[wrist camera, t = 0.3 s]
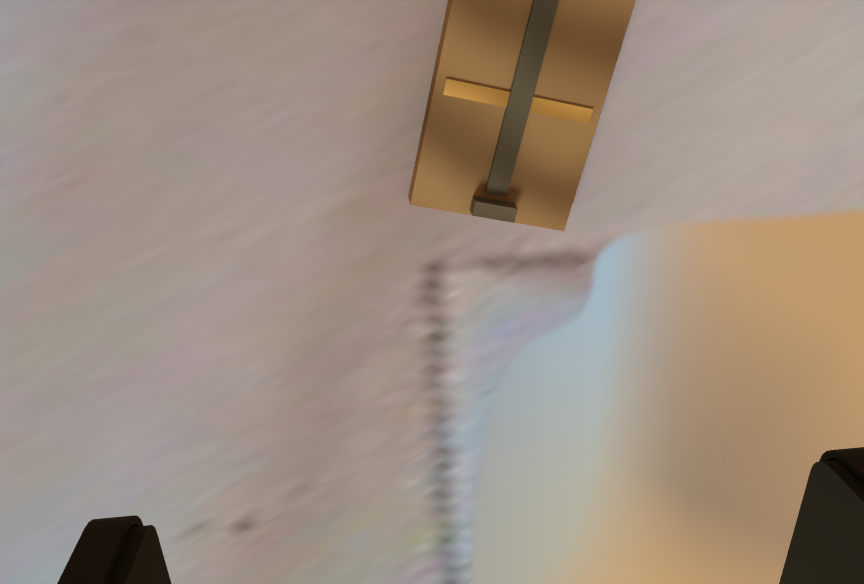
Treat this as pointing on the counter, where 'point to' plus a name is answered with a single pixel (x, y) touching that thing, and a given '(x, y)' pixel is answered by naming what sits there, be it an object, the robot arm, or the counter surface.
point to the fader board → (516, 106)
